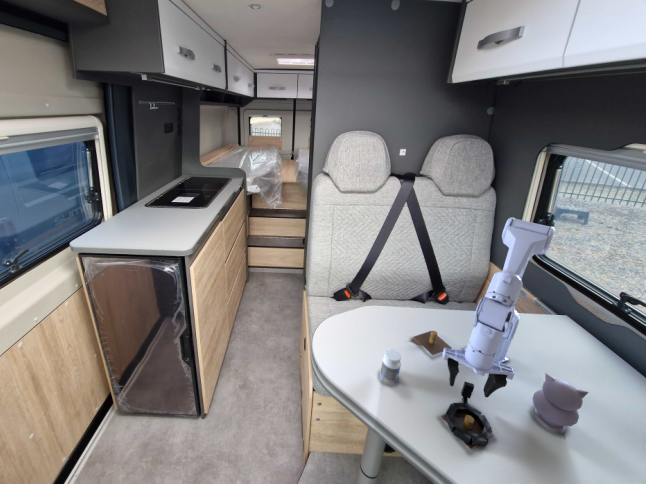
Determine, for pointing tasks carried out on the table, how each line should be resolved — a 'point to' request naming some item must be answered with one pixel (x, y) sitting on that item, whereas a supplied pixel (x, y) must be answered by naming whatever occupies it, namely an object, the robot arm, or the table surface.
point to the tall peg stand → (431, 342)
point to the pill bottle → (390, 366)
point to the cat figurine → (558, 403)
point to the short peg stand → (467, 425)
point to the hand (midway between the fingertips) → (468, 388)
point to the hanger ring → (469, 410)
